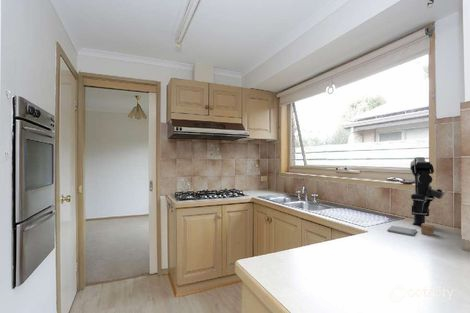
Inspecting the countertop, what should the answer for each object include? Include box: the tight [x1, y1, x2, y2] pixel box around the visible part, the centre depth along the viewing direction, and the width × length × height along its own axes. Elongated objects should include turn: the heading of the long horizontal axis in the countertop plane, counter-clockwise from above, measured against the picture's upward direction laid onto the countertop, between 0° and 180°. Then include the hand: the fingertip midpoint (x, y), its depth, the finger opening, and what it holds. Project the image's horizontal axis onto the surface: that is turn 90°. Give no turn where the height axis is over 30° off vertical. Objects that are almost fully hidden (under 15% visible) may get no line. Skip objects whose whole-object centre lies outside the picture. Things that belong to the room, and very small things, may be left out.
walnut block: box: [420, 222, 435, 237], centre depth 133 cm, size 5×5×5 cm
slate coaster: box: [387, 225, 418, 237], centre depth 137 cm, size 12×12×1 cm
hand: (423, 211), depth 133 cm, fingers open, 9 cm apart
